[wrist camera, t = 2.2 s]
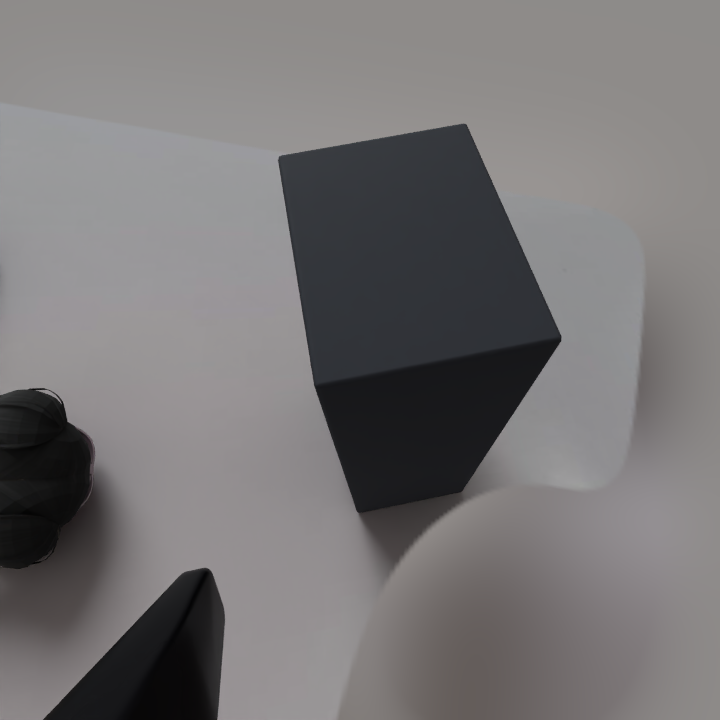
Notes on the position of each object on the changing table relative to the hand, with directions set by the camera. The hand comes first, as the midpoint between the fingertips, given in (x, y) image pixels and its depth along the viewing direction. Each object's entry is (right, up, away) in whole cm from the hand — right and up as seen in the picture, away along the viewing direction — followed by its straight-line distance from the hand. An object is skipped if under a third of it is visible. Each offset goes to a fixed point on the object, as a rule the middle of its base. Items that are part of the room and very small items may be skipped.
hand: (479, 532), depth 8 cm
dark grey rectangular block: (-1, 0, +13) cm, 13 cm away
